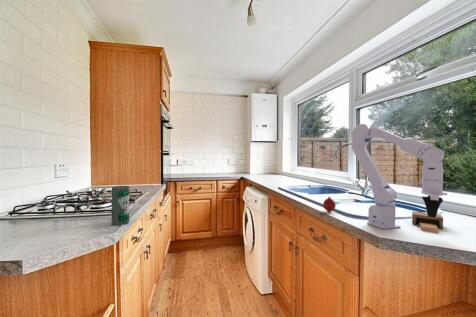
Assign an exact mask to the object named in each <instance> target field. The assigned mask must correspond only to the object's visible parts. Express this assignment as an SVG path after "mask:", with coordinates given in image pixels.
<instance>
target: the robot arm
mask: <svg viewBox="0 0 476 317" xmlns="http://www.w3.org/2000/svg"><path fill="white" fill-rule="evenodd" d="M351 138H352V139H351V149H352V152H353V153H354V155H355V156H356V158H357V160H358V162H359V164H360V166H361V167H362V169H363V171H364V173H365V175H366V177H367V179H368V180H369V182H370V184H371V191H372V193H373V199H374V204H372V205H370V206H369V207H368V215H367V216H368V220H367V221H366V224H368V225H369V226H370V225H371V226H373V227H376V228H378V229H382V230H387V229H397V228H401V225H398V224H396V203H395V200H396V199H397V197H398V194H397V192H396V191H395V189H393V188H392V187H391V186H390V184H389V183H388V182H387V181H386V180H385V179H384V177H383V175H382V173H381V171H380V170H379V169H378V166H377V165H376V163H375V161H374V159H373V158H372V156H371V155H370V152H369V150H368V148H367V146H368V145H369V143H370V141H371V140H372V139H378V138H379V139H382V140H385V141H387V142H390V143H392V144H394V145H397V146H399V148H400V150H401V151H402V152H403V153H407V154H409V155H412V156H413V157H416V158H417V159H419V158H421V160H422V161H423V162H422V167H421V168H422V171H421V172H422V174H421V177H422V178H421V191H420V193H421V194H422V195H426V196H421V199H422V200H423V202H424V206H425V211H426V213H427V215H428V217H435V218H436V215H437V214H438V213H439V212H438V211H439V208H440V206H441V204H442V203H443V201H444V200H443V198H442V197H441V196H448V193H447V192H444V189H443V188H444V187H443V186H444V167H443V165H444V162H443V160H444V157H445V153H444V151H443V150H442V149H440V148H438V147H435V146H433V144H431V143H426V142H424V141H423V142H422V141H420V140H419V138H417V137H410V136H408V137H406V138H403V137H401V136H398V135H396V134H394V133H392V132H391V131H387V130H385V129H382V128H379V127H376V126H372V125H367V124H366V123H365V124H364V123H360V124H357V125H355V127H354V128H353V130H352V131H351ZM432 146H433V147H432Z"/></svg>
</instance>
